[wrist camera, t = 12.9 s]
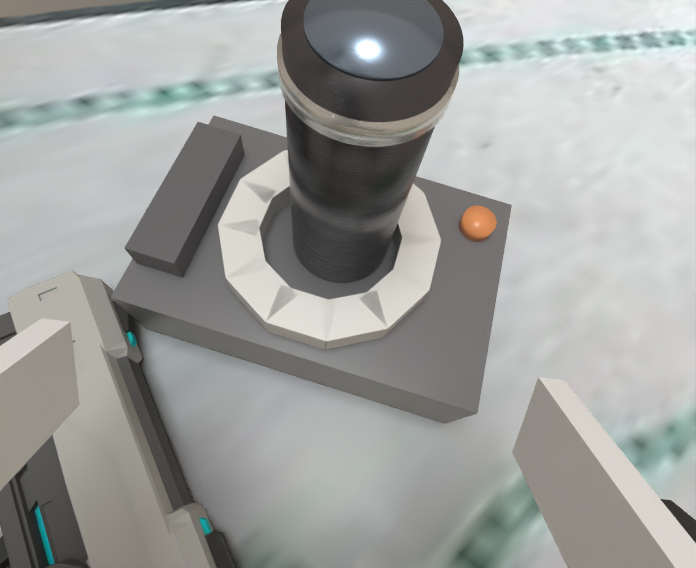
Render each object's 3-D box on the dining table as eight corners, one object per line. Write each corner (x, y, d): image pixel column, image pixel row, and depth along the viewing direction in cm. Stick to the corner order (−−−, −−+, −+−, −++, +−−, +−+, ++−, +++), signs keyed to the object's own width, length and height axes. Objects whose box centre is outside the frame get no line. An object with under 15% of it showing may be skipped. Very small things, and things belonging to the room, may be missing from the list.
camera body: (146, 328, 25) (95, 284, 19) (227, 169, 30) (208, 93, 24) (444, 423, 25) (491, 409, 18) (479, 246, 29) (524, 188, 23)
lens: (276, 268, 22) (244, 64, 11) (307, 185, 24) (309, -58, 13) (376, 298, 22) (452, 123, 11) (400, 212, 24) (483, -11, 13)
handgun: (-160, 406, 23) (129, 285, 26) (-79, 945, 16) (289, 676, 20) (-254, 394, 19) (99, 254, 23) (-199, 1095, 12) (285, 726, 16)
